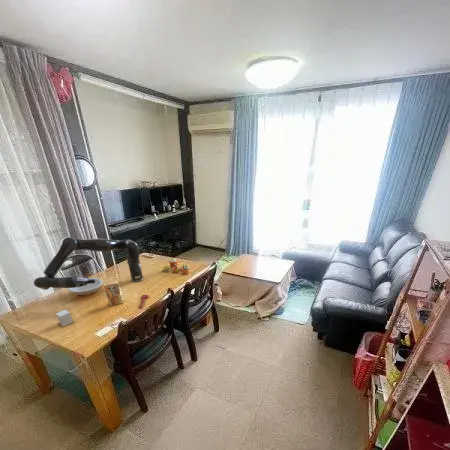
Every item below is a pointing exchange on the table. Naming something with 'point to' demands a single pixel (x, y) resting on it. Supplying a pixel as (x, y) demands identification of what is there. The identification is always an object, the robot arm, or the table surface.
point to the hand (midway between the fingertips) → (94, 281)
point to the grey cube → (64, 317)
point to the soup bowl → (87, 287)
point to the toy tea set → (176, 269)
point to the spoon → (143, 300)
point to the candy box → (113, 293)
